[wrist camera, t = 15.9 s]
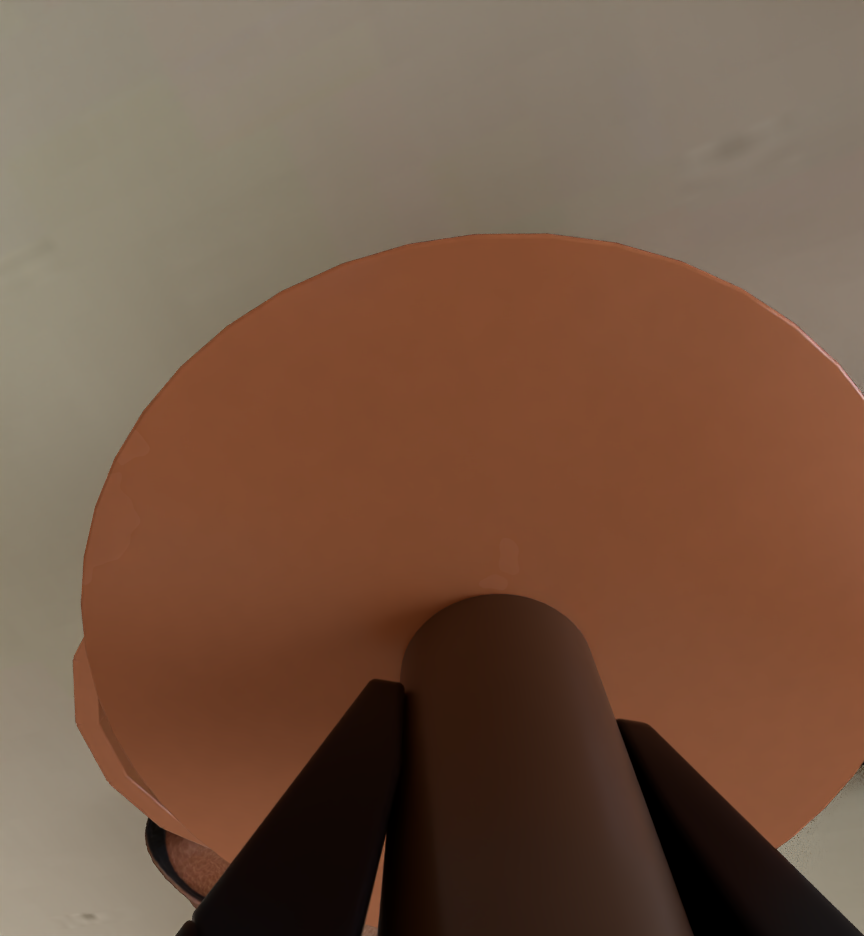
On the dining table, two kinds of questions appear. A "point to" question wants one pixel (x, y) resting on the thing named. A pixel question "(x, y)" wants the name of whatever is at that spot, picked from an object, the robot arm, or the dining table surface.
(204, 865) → the sunglasses case
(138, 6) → the dining table surface
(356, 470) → the lid
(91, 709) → the pot
